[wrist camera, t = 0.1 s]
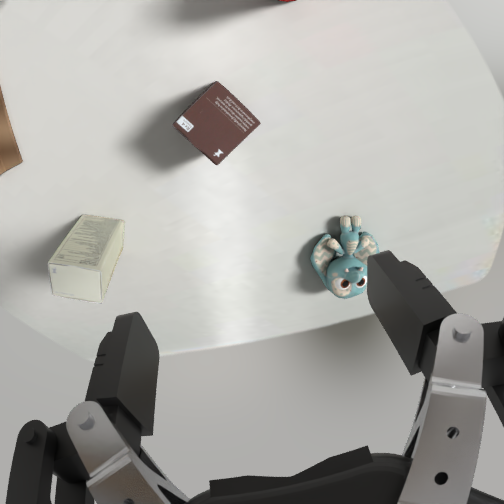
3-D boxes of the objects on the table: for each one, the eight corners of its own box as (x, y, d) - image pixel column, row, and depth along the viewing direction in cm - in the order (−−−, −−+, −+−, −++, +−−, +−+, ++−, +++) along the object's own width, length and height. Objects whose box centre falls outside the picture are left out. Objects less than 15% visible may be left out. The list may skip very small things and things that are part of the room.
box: (253, 116, 35) (263, 124, 29) (215, 151, 36) (217, 167, 30) (216, 79, 32) (217, 79, 26) (178, 116, 34) (170, 125, 28)
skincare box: (82, 241, 40) (49, 296, 29) (82, 212, 38) (45, 261, 27) (124, 248, 41) (102, 306, 31) (126, 218, 39) (101, 271, 29)
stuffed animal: (400, 222, 38) (388, 305, 42) (375, 210, 45) (368, 284, 49) (323, 225, 37) (318, 315, 41) (306, 212, 44) (303, 291, 48)
